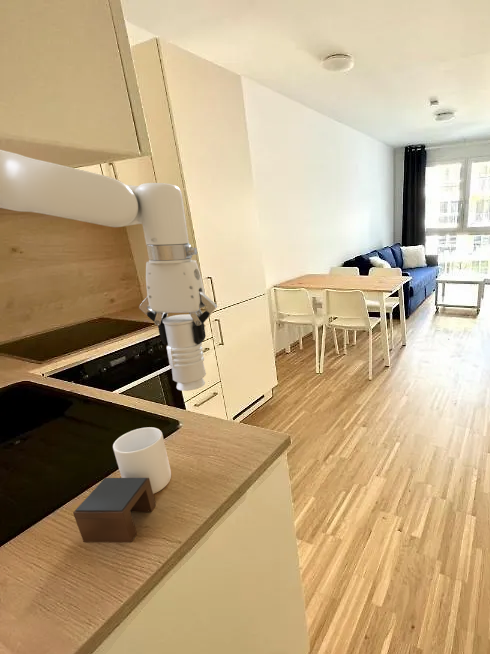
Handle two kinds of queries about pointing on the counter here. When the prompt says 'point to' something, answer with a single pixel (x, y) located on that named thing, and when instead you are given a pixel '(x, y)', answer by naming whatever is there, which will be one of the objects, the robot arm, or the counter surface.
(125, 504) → the shelf
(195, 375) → the white ribbed cylinder
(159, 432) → the mug
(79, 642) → the counter surface
